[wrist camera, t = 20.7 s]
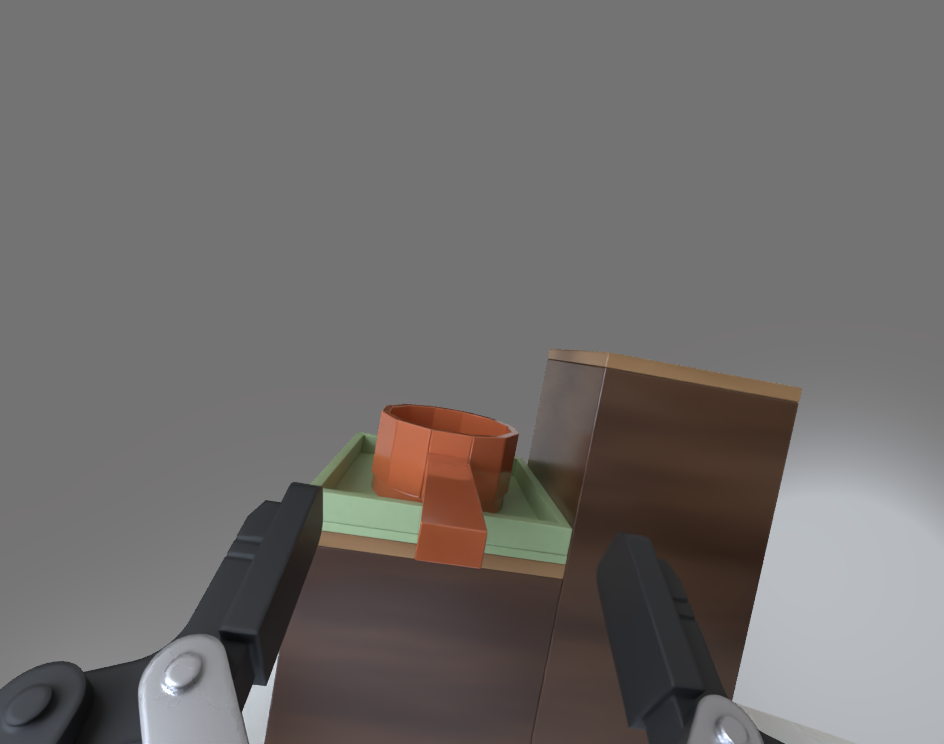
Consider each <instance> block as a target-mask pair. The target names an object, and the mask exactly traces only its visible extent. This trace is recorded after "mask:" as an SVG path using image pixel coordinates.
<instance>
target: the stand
mask: <svg viewBox="0 0 944 744" xmlns="http://www.w3.org/2000/svg"><path fill="white" fill-rule="evenodd" d="M801 391H802V388H799V387H794V386H788V385H783V384H778V383H772V382H767V381H761V380H756V379H750V378H745V377H740V376H734V375H728V374H723V373H718V372H713V371H707V370H702V369H696V368H691V367H685V366H680V365H675V364H669V363H664V362H659V361H653V360H648V359H642V358H637V357H632V356H625V355H621V354H615V353H609V352H594V351H577V350H561V349H550V350H549V355H548V361H547V366H546V371H545V377H544V382H543V387H542V392H541V398H540V403H539V408H538V413H537V418H536V424H535V429H534V435H533V439H532V445H531V450H530V456H529V460H528V467H529V468H530V470H531V471H532V472H533V474H534V475H535V477H536V478H537V479H538V481H539V482H540V484H541V485H542V487H543V488H544V489H545V491H546V492H547V494H548V495H549V496H550V498H551V499H552V501H553V502H554V503H555V505H556V506H557V508H558V509H559V510H560V512H561V513H562V515H563V516H564V517H565V519H566V520H567V522H568V523H569V525H570V526H571V528H572V534H571V539H570V544H569V549H568V554H567V560H566V564H558V563H551V562H544V561H537V560H530V559H523V558H516V557H508V556H501V555H494V554H487V553H484V556H483V561H482V566H481V569H477V568H470V567H462V566H455V565H448V564H440V563H433V562H426V561H418V560H415V558H414V557H415V549H416V544H415V543H408V542H401V541H394V540H387V539H380V538H373V537H365V536H358V535H351V534H344V533H337V532H330V531H322V532H321V536H320V540H319V544H318V547H317V549H316V552H315V555H314V558H313V560H312V563H311V566H310V568H309V571H308V574H307V577H306V579H305V582H304V585H303V587H302V590H301V593H300V596H299V598H298V601H297V604H296V606H295V609H294V612H293V615H292V617H291V620H290V623H289V625H288V628H287V631H286V634H285V636H284V639H283V642H282V644H281V647H280V650H279V656H278V662H277V668H276V674H275V680H274V687H273V693H272V699H271V705H270V711H269V718H268V724H267V730H266V736H265V742H264V744H649V740H648V736H647V732H646V730H642V729H633V728H629V727H628V722H627V718H626V713H625V709H624V704H623V700H622V695H621V691H620V686H619V682H618V677H617V673H616V668H615V664H614V660H613V655H612V651H611V646H610V642H609V637H608V633H607V628H606V624H605V619H604V615H603V610H602V606H601V601H600V597H599V593H598V588H597V582H596V573H597V567H598V564H599V561H600V560H601V558H602V556H603V555H604V553H605V552H606V550H607V548H608V547H609V545H610V543H611V542H612V540H613V538H614V537H615V535H616V534H617V533H618V532H625V533H631V534H638V535H645V536H647V537H649V538H650V540H651V542H652V544H653V546H654V549H655V552H656V555H657V557H658V559H665V560H666V561H667V562H668V563H669V565H670V566H671V567H672V569H673V570H674V571H675V573H676V574H677V575H678V577H679V578H680V580H681V582H682V585H683V587H684V590H685V592H686V595H687V597H688V603H689V604H690V605H691V607H692V610H693V612H694V615H695V621H696V622H698V625H699V627H700V630H701V633H702V635H703V638H704V640H705V643H706V645H707V648H708V650H709V653H710V655H711V658H712V660H713V663H714V665H715V668H716V670H717V673H718V675H719V678H720V680H721V683H722V685H723V688H724V690H725V692H726V694H727V696H728V698H729V699H730V700H731V701H732V699H733V694H734V690H735V685H736V681H737V677H738V672H739V668H740V663H741V659H742V654H743V650H744V645H745V640H746V636H747V632H748V627H749V622H750V618H751V614H752V610H753V605H754V601H755V596H756V591H757V587H758V582H759V578H760V574H761V569H762V565H763V560H764V556H765V551H766V547H767V542H768V538H769V534H770V529H771V525H772V520H773V515H774V511H775V507H776V502H777V498H778V493H779V489H780V484H781V480H782V475H783V470H784V467H785V462H786V458H787V452H788V449H789V444H790V440H791V435H792V431H793V426H794V422H795V417H796V413H797V408H798V403H797V402H799V400H800V395H801Z"/></svg>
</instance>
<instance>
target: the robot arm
mask: <svg viewBox="0 0 944 744" xmlns="http://www.w3.org/2000/svg"><path fill="white" fill-rule="evenodd" d="M322 526H323V487H322V486H318V485H311V484H303V483H297V482H293V483H291V485H290V486H289V488H288V490H287V492H286V494H285V496H284V498H283V500H282V502H273V501H267V500H266V501H264V502H263V503H262V504H261V505H260V506H259V507H258V508H257V509H255V510H254V511H253V512H252V513H251V514H250V515H249V516H248V517H247V519H246V520H245V522H244V524H243V526H242V528H241V529H240V531H239V533H238V535H237V538H236V540H235V541H234V542H233V544H232V545H231V547H230V549H229V551H228V553H227V556H226V557H225V558H224V560H223V562H222V563H221V565H220V567H219V569H218V571H217V572H216V574H215V576H214V578H213V580H212V581H211V583H210V585H209V587H208V588H207V590H206V592H205V594H204V596H203V598H202V599H201V601H200V603H199V605H198V607H197V608H196V610H195V612H194V614H193V615H192V617H191V619H190V621H189V622H188V624H187V625H186V627H185V628H184V629H183V631H182V632H181V633H180V634H179V635H178V636H177V637H176V638H175V639H174V640H173V641H171V642H170V643H169V644H168V645H167V646H165V647H164V648H162V649H161V650H159V651H157V652H155V653H153V654H152V655H150V656H147V657H145V658H142V659H139V660H135V661H132V662H127V663H123V664H118V665H114V666H109V667H104V668H100V669H96V670H91V671H86V672H83V671H82V670H81V668H79V667H78V666H77V665H75V664H73V663H70V662H64V661H58V662H51V663H46V664H43V665H40V666H37V667H35V668H32V669H30V670H28V671H26V672H24V673H22V674H21V675H19V676H17V677H16V678H15V679H13V680H12V681H10V682H9V683H8V684H7V685H6V686H4V687H3V688H2V689H0V744H249V741H248V737H247V733H246V728H245V724H244V720H243V716H242V710H243V708H244V705H245V703H246V700H247V697H248V695H249V692H250V690H251V687H252V685H261V686H266V685H267V683H268V680H269V677H270V674H271V672H272V669H273V666H274V663H275V661H276V658H277V655H278V653H279V650H280V647H281V644H282V642H283V639H284V636H285V634H286V631H287V628H288V625H289V623H290V620H291V617H292V615H293V612H294V609H295V606H296V604H297V601H298V598H299V596H300V593H301V590H302V587H303V585H304V582H305V579H306V577H307V574H308V571H309V568H310V566H311V563H312V560H313V558H314V555H315V552H316V549H317V547H318V544H319V540H320V536H321V532H322ZM596 582H597V588H598V593H599V597H600V601H601V606H602V610H603V615H604V619H605V624H606V628H607V633H608V637H609V642H610V646H611V651H612V655H613V660H614V664H615V668H616V673H617V677H618V682H619V686H620V691H621V695H622V700H623V704H624V709H625V713H626V718H627V722H628V727H629V728H633V729H642V730H646V732H647V736H648V740H649V744H784V743H782V742H780V741H778V740H776V739H774V738H772V737H770V736H768V735H766V734H764V733H763V732H761V731H759V730H758V729H757V727H756V726H755V724H754V723H753V721H752V720H751V719H750V717H749V716H748V715H747V714H746V713H745V712H744V711H743V710H742V709H741V708H740V707H739V706H738V705H737V704H735V703H734V702H732V701H731V700H730V699H729V698H728V696H727V694H726V692H725V690H724V688H723V685H722V683H721V680H720V678H719V675H718V673H717V670H716V668H715V665H714V663H713V660H712V658H711V655H710V653H709V650H708V648H707V645H706V643H705V640H704V638H703V635H702V633H701V630H700V627H699V625H698V622H696V621H695V615H694V612H693V610H692V607H691V605H690V604H689V603H688V597H687V595H686V592H685V590H684V587H683V585H682V582H681V580H680V578H679V577H678V575H677V574H676V573H675V571H674V570H673V569H672V567H671V566H670V565H669V563H668V562H667V561H666V560H665V559H658V557H657V555H656V552H655V549H654V546H653V544H652V542H651V540H650V538H649V537H647V536H645V535H638V534H631V533H625V532H618V533H617V534H616V535H615V537H614V538H613V540H612V542H611V543H610V545H609V547H608V548H607V550H606V552H605V553H604V555H603V556H602V558H601V560H600V561H599V564H598V567H597V573H596Z"/></svg>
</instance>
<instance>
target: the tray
mask: <svg viewBox="0 0 944 744" xmlns="http://www.w3.org/2000/svg"><path fill="white" fill-rule="evenodd" d="M376 441H377V435H374V434H368V433H362V432H358V433H357V434H356V435H355V436H354V437H353V438H352V439H351V440H350V441H349V443H348V444H347V445H346V446H345V447H344V448H343V449H342V450H341V451H340V452H339V454H338V455H337V456H336V457H335V458H334V459H333V460H332V461H331V462H330V463H329V464H328V466H327V467H326V468H325V469H324V470H323V471H322V472H321V473H320V474H319V475H318V476H317V478H316V479H315V480H314V481H313V482H312V483H311V485H318V486H322V487H323V526H322V531H330V532H337V533H344V534H351V535H358V536H365V537H373V538H380V539H387V540H394V541H401V542H408V543H415V544H416V540H417V531H418V523H419V514H420V505H421V503H420V502H414V501H407V500H400V499H393V498H387V497H380V496H378V495H377V494H376V493H375V492H374V491H373V489H372V487H371V479H372V465H373V459H374V453H375V447H376ZM483 516H484V520H485V524H486V528H487V532H488V534H487V540H486V545H485V550H484V553H487V554H494V555H501V556H508V557H516V558H523V559H530V560H537V561H544V562H551V563H558V564H566V560H567V554H568V549H569V544H570V539H571V534H572V528H571V526H570V525H569V523H568V522H567V520H566V519H565V517H564V516H563V515H562V513H561V512H560V510H559V509H558V508H557V506H556V505H555V503H554V502H553V501H552V499H551V498H550V496H549V495H548V494H547V492H546V491H545V489H544V488H543V487H542V485H541V484H540V482H539V481H538V479H537V478H536V477H535V475H534V474H533V472H532V471H531V470H530V468H529V467H528V465H527V464H526V463H525V461H524V460H523V458H518V457H514V462H513V467H512V472H511V478H510V483H509V488H508V492H507V493H506V494H505V498H504V503H503V507H502V509H501V510H500V511H499V512H497V513H496V514H495V513H488V512H483Z"/></svg>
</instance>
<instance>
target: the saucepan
mask: <svg viewBox="0 0 944 744" xmlns="http://www.w3.org/2000/svg"><path fill="white" fill-rule="evenodd" d="M518 435H519V434H518V432H517V431H516V430H515V429H514V428H513V427H512V426H509V425H507V424H505V423H502V422H499V421H497V420H495V419H492V418H488V417H484V416H480V415H476V414H473V413H468V412H464V411H459V410H453V409H447V408H440V407H433V406H423V405H411V404H402V405H388V406H386V407H385V408H384V409H383V410H382V412H381V418H380V424H379V430H378V435H377V441H376V447H375V453H374V459H373V465H372V479H371V487H372V489H373V491H374V492H375V493H376V494H377V495H378V496H380V497H387V498H393V499H400V500H407V501H414V502H420V503H421V505H420V514H419V523H418V531H417V540H416V549H415V557H414V558H415V560H418V561H426V562H433V563H440V564H448V565H455V566H462V567H470V568H477V569H481V566H482V561H483V556H484V550H485V545H486V540H487V534H488V532H487V528H486V524H485V520H484V516H483V512H488V513H495V514H496V513H497V512H499V511H500V510H501V509H502V507H503V503H504V498H505V494H506V493H507V492H508V488H509V483H510V478H511V472H512V467H513V462H514V456H515V451H516V445H517V441H518Z"/></svg>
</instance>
